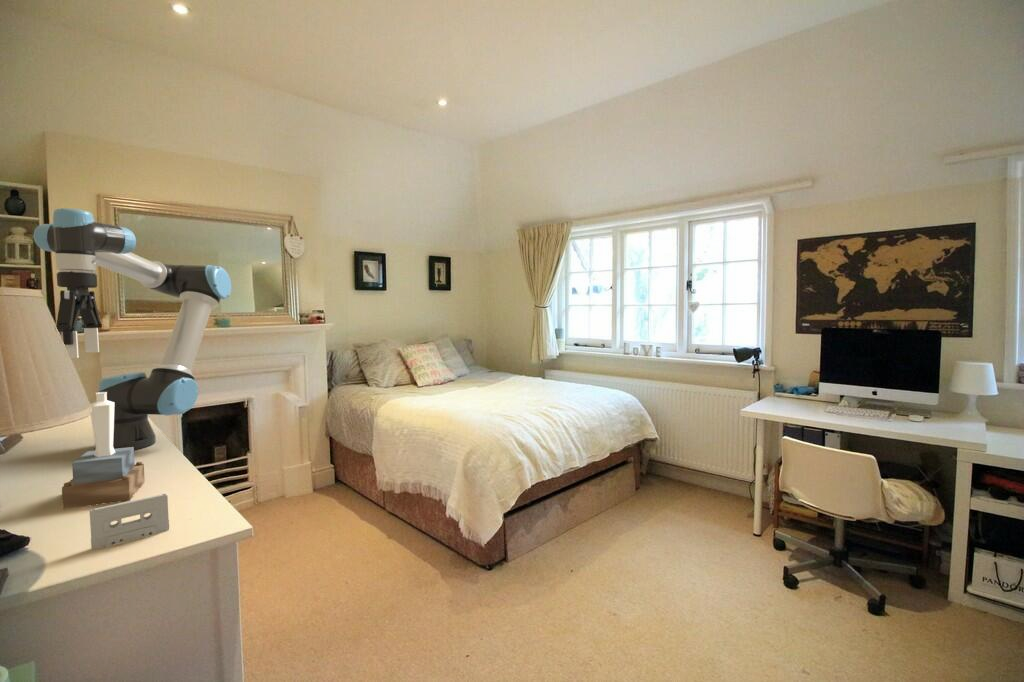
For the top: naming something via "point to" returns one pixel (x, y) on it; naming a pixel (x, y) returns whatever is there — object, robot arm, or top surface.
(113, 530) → the cassette
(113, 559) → the top surface
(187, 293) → the robot arm
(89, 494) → the blue block on board
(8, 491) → the top surface
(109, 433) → the perfume bottle
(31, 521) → the top surface
